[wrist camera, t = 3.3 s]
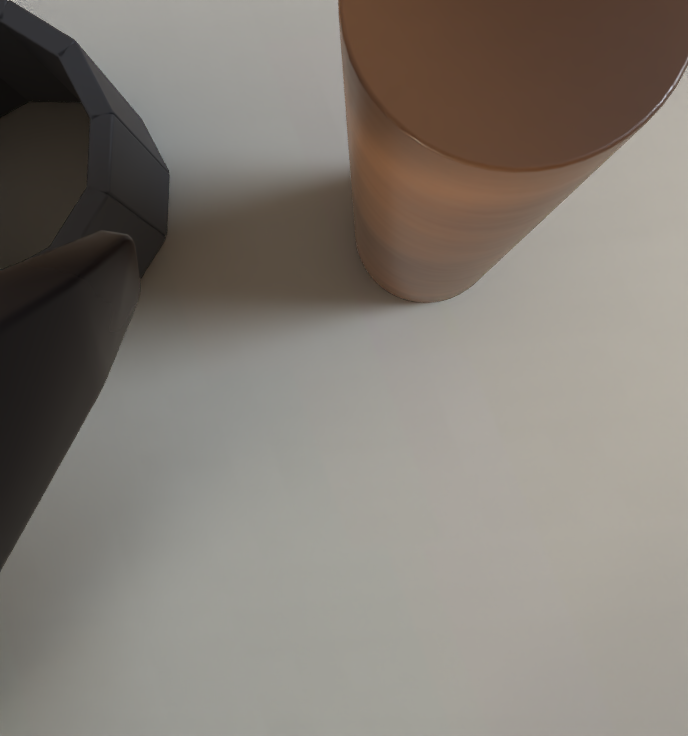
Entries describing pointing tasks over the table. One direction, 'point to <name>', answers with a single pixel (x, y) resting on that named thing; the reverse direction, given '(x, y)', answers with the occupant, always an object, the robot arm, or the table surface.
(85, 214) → the tube
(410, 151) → the peg
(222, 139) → the table surface
